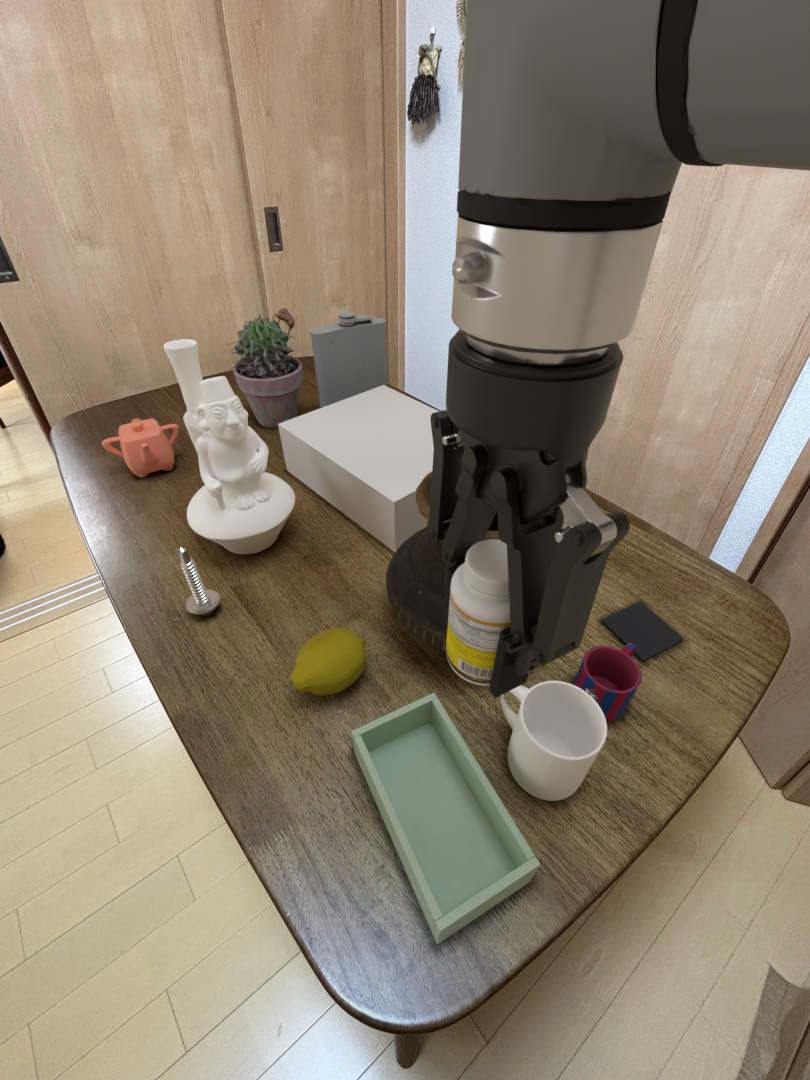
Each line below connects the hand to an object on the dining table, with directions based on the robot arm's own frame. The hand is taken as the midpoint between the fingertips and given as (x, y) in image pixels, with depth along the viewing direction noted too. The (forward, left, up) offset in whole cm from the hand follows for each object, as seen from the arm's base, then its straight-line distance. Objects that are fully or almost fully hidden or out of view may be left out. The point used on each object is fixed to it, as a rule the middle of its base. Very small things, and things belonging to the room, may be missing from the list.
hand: (482, 652), depth 36 cm
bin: (0, +3, -26) cm, 27 cm away
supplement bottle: (0, 0, -1) cm, 1 cm away
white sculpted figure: (+56, +10, -27) cm, 63 cm away
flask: (+87, -24, -27) cm, 94 cm away
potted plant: (+96, -6, -27) cm, 100 cm away
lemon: (+20, +7, -27) cm, 34 cm away
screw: (+40, +20, -27) cm, 52 cm away
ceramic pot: (+21, -15, -27) cm, 37 cm away
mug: (0, -10, -27) cm, 28 cm away
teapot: (+87, +23, -27) cm, 94 cm away
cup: (+2, -24, -27) cm, 36 cm away
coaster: (+7, -36, -26) cm, 45 cm away
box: (+59, -20, -27) cm, 68 cm away
